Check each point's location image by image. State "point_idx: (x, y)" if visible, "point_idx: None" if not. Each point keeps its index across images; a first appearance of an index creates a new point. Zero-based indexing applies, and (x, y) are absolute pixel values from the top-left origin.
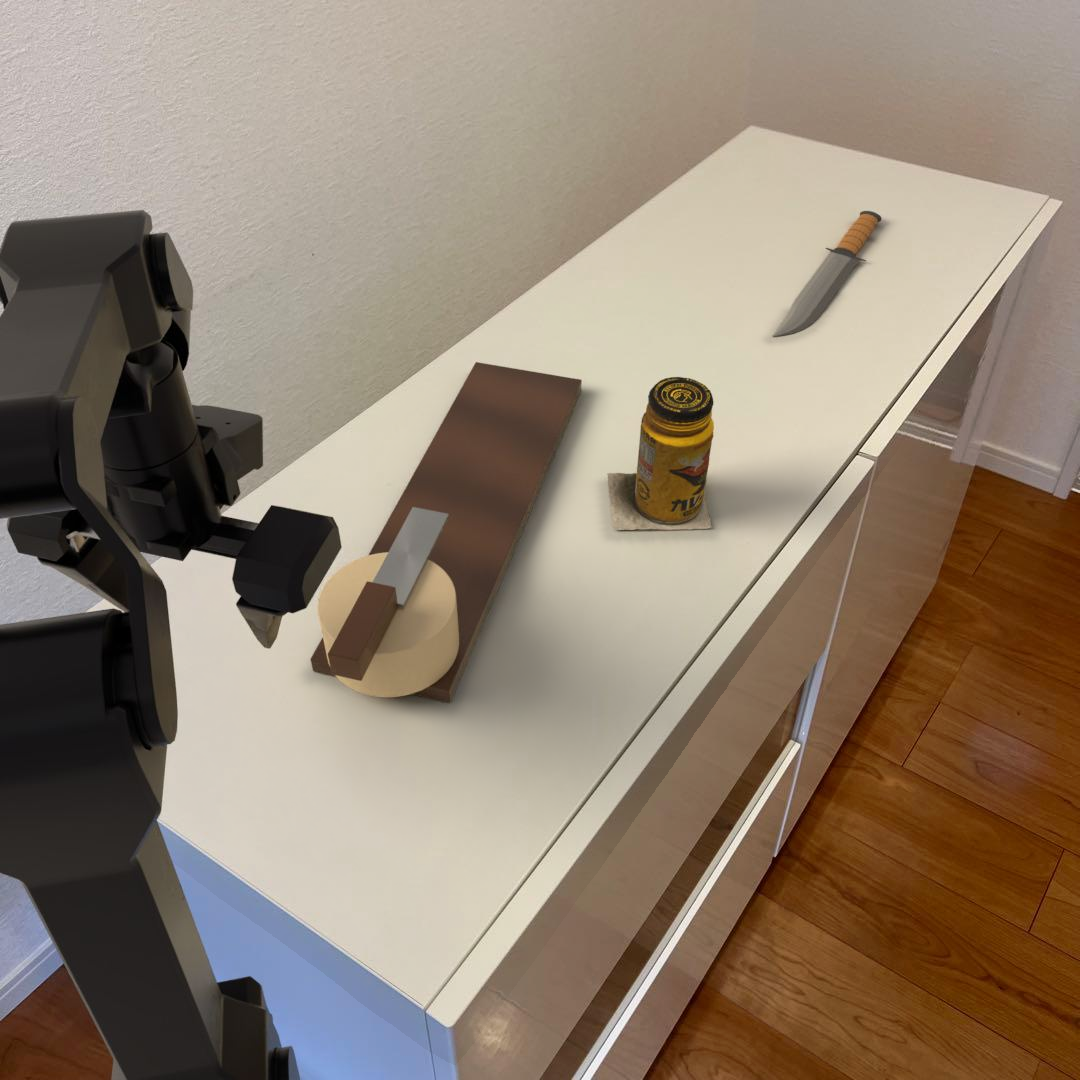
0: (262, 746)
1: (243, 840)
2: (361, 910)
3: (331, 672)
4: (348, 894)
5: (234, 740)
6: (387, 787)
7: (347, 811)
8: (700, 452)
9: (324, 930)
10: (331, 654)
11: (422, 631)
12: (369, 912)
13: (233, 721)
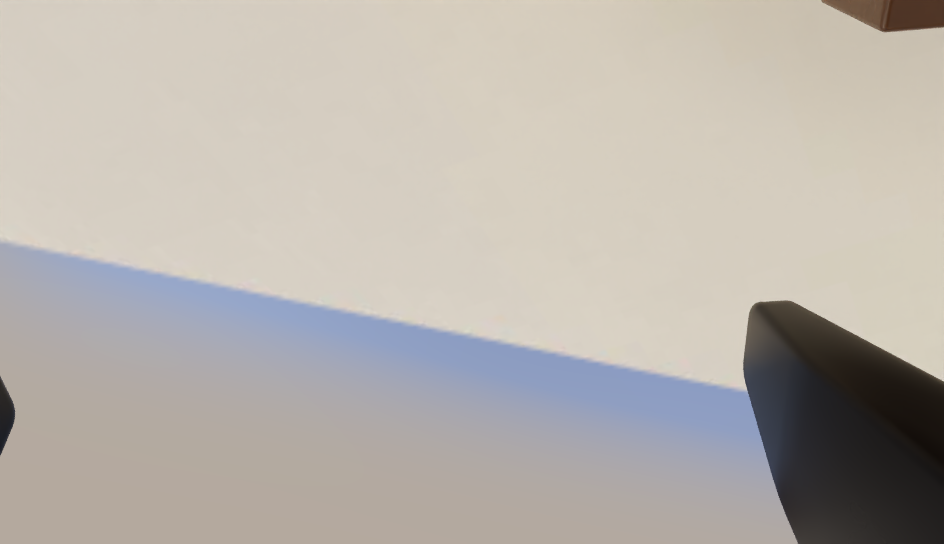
0: (500, 78)
1: (586, 308)
2: None
3: (824, 2)
4: None
5: (417, 87)
6: (889, 76)
7: (799, 173)
8: None
9: None
10: (902, 27)
11: None
12: (910, 354)
13: (376, 31)
